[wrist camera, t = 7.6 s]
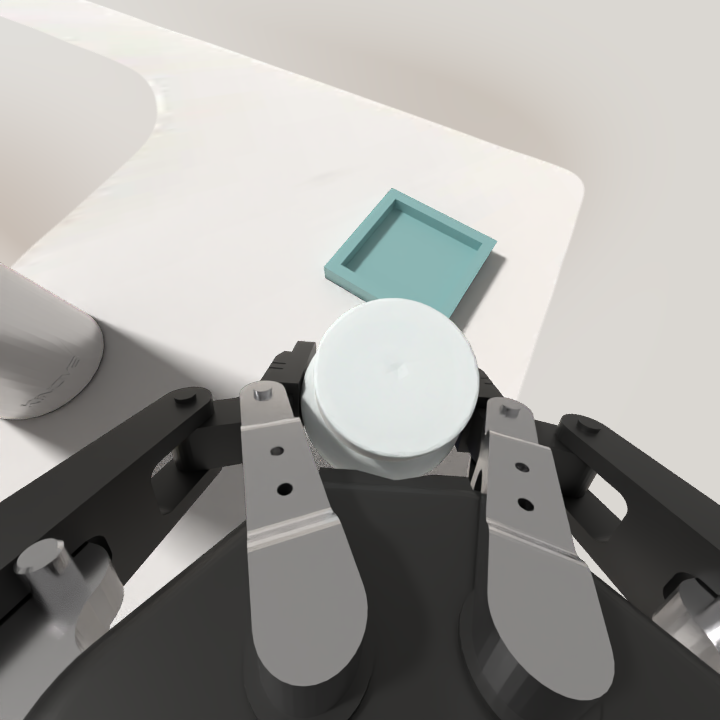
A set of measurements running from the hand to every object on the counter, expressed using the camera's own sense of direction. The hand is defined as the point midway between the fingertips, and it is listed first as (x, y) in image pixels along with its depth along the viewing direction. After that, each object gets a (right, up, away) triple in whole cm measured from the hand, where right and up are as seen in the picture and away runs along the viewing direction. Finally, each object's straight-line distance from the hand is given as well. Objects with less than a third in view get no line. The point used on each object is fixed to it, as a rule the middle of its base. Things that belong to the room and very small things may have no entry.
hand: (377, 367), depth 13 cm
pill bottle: (0, -3, +4) cm, 5 cm away
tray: (+4, +9, +14) cm, 17 cm away
